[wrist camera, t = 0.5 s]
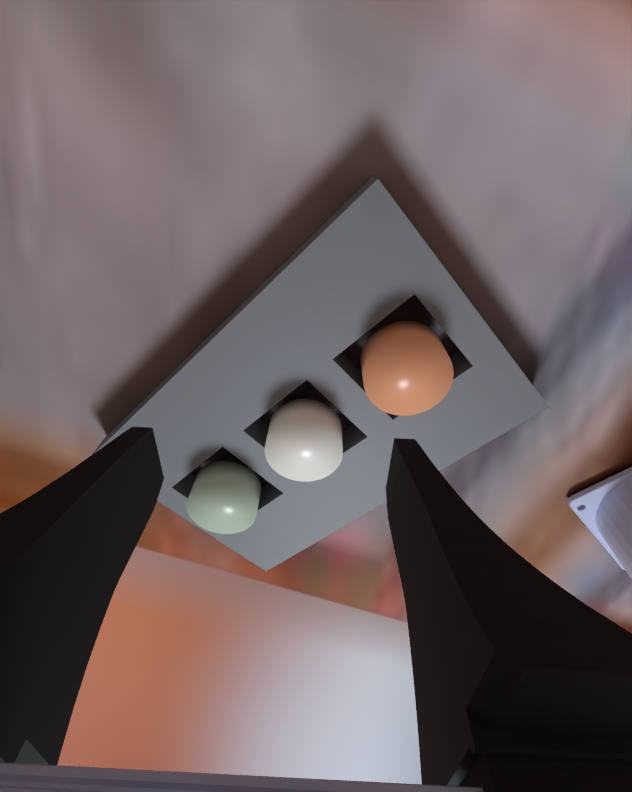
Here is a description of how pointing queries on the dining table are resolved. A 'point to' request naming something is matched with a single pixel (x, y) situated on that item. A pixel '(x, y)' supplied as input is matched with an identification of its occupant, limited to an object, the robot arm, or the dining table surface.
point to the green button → (224, 497)
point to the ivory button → (304, 440)
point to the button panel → (329, 378)
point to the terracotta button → (405, 368)
